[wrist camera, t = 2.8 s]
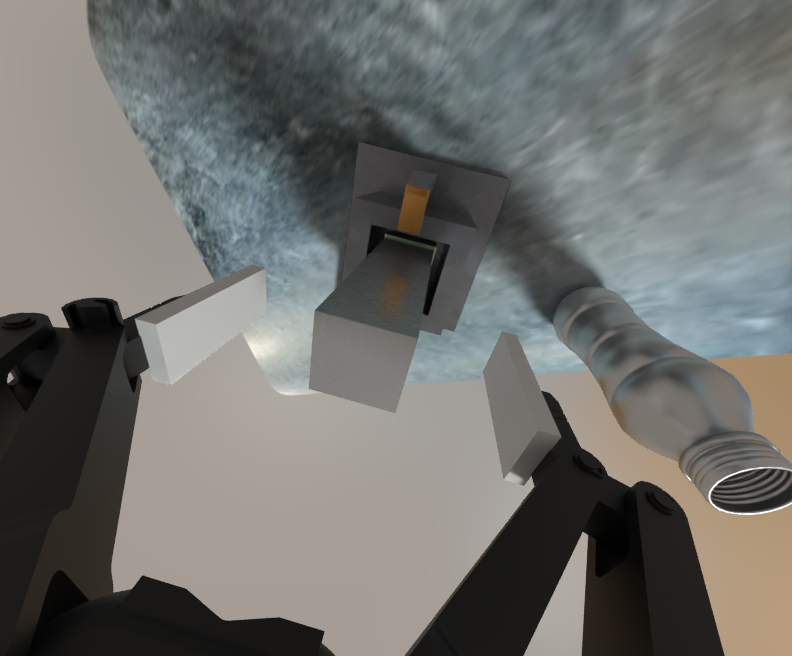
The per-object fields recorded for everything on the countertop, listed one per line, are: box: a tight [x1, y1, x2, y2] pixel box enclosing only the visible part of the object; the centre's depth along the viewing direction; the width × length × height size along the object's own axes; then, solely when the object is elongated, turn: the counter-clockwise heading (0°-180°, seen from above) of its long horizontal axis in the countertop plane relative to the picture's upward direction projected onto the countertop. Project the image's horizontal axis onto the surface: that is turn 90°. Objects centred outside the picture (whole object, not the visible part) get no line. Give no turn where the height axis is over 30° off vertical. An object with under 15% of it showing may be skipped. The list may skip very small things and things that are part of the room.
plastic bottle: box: [553, 287, 792, 515], centre depth 22 cm, size 6×7×20 cm
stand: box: [341, 142, 511, 335], centre depth 25 cm, size 16×14×12 cm
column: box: [309, 230, 437, 413], centre depth 20 cm, size 5×4×20 cm
